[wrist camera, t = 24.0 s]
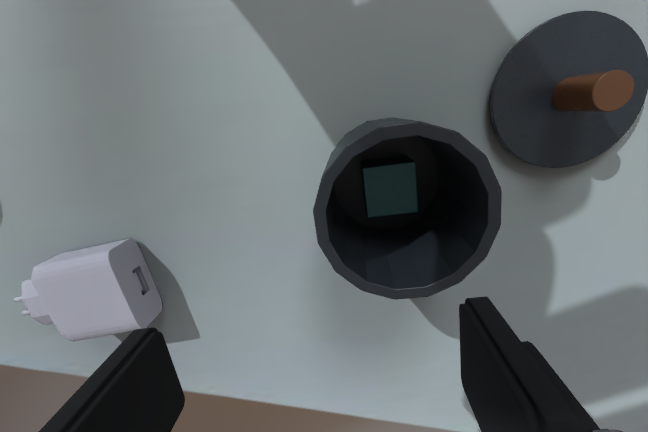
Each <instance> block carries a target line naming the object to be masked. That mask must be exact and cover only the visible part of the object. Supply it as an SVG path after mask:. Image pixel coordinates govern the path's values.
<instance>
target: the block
mask: <svg viewBox="0 0 648 432" xmlns="http://www.w3.org/2000/svg"><path fill="white" fill-rule="evenodd" d="M361 172H362V182H363V191H364V201H365V208H366V213H367V217H377V216H387V215H396V214H405V213H414V212H418V197H417V179H416V162H415V161H414V160H412V159H411V158H409V157H408V156H407V155H403V156H395V157H387V158H379V159H371V160H363V161H361Z"/></svg>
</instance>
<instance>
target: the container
mask: <svg viewBox="0 0 648 432" xmlns="http://www.w3.org/2000/svg"><path fill="white" fill-rule="evenodd" d="M403 155H407V156H408V157H409V158H411V159H412V160H414V161H415V162H416V179H417V197H418V212H414V213H405V214H396V215H387V216H377V217H367V213H366V208H365V201H364V191H363V182H362V172H361V161H363V160H371V159H379V158H387V157H395V156H403ZM313 214H314V220H315V227H316V233H317V240H318V244H319V246H320V248H321V249H322V251H323V252H324V254H325V256H326V257H327V259H328V260H329V262H330V264H331V265H332V267H333V268H334V270H335V271H336V272H337V273H338V274H340V275H341V276H342V277H344V278H345V279H346V280H348V281H349V282H351V283H352V284H353V285H355V286H356V287H358V288H359V289H360V290H363V291H365V292H369V293H373V294H376V295H380V296H384V297H387V298H391V299H405V298H417V297H428V296H431V295H433V294H435V293H438V292H440V291H442V290H444V289H447V288H449V287H451V286H453V285H455V284H458V283H460V282H461V281H462V280H463V279H464V278H465V277H466V276H467V275H468V274H469V273H470V272H472V271H473V270H474V269H475V268H476V267H477V266H478V265H479V264H480V263H481V262H482V261H483V260H484V259H485V257H487V254H488V252H489V250H490V248H491V246H492V243H493V241H494V239H495V237H496V235H497V233H498V230H499V228H500V225H501V188H500V185H499V183H498V181H497V179H496V176H495V174H494V172H493V170H492V168H491V165H490V163H489V161H488V159H487V157H486V155H484V154H483V153H482V152H481V151H480V150H479V149H477V148H476V147H475V146H474V145H473V144H471V143H470V142H469V141H468V140H467V139H465V138H464V137H463V136H462V135H461V134H460V133H458V132H456V131H453V130H449V129H446V128H442V127H438V126H435V125H431V124H428V123H424V122H420V121H413V120H406V119H399V118H386V119H378V120H372V121H367V122H365V123H364V124H362V125H360V126H358V127H356V128H355V129H353V130H352V131H350V132H348V133H347V134H346V135H345V136H344V137H343V139H342V140H341V141H340V142H339V143H338V145H337V146H336V148H335V149H334V150H333V152H332V153H331V155H330V158H329V160H328V163H327V166H326V168H325V171H324V173H323V176H322V179H321V183H320V186H319V190H318V194H317V198H316V201H315V205H314V209H313Z"/></svg>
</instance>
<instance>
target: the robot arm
mask: <svg viewBox="0 0 648 432" xmlns="http://www.w3.org/2000/svg"><path fill="white" fill-rule="evenodd" d="M459 317H460V354H461V380H462V385H463V388H464V391H465V393H466V396H467V398H468V400H469V403H470V405H471V408H472V410H473V412H474V415H475V417H476V420H477V422H478V424H479V427H480V429H481V431H482V432H622V431H619V430H611V429H600V428H599V427H598V426H597V425H596V423H595V422H594V421H593V419H592V418H591V417H590V416H589V414H588V413H587V412H586V411H585V409H584V408H583V407H582V405H581V404H580V403H579V402H578V400H577V399H576V398H575V397H574V395H573V394H572V393H571V392H570V390H569V389H568V388H567V386H566V385H565V384H564V383H563V381H562V380H561V379H560V378H559V376H558V375H557V374H556V373H555V371H554V370H553V369H552V367H551V366H550V365H549V364H548V362H547V361H546V360H545V359H544V357H543V356H542V355H541V353H540V352H539V351H538V350H537V348H536V347H535V346H534V345H533V344H532V343H530V342H528V341H525V342H521V341H520V340H519V338H518V337H517V336H516V334H515V333H514V332H513V330H512V329H511V328H510V326H509V325H508V324H507V322H506V321H505V320H504V318H503V317H502V316H501V314H500V313H499V312H498V310H497V309H496V308H495V306H494V305H493V304H492V302H491V301H490V299H489V298H488V297H477V298H467V299H466V301H465V304H460V306H459ZM184 402H185V398H184V394H183V391H182V388H181V385H180V382H179V379H178V377H177V374H176V371H175V368H174V365H173V362H172V360H171V357H170V354H169V351H168V348H167V345H166V343H165V340H164V337H163V335H162V333H161V332H158V330H157V329H156V328H143V329H136V330H134V331H133V332H132V333H131V334H130V335H129V336H128V337H127V338H126V339H125V340H124V341H123V342H122V343H121V344H120V345H119V347H118V348H117V349H116V350H115V351H114V352H113V353H112V354H111V355H110V356H109V357H108V358H107V359H106V360H105V362H104V363H103V364H102V365H101V366H100V367H99V368H98V369H97V370H96V371H95V372H94V373H93V374H92V375H91V376H90V378H89V379H88V380H87V381H86V382H85V383H84V384H83V385H82V386H81V387H80V388H79V389H78V390H77V391H76V393H75V394H74V395H73V396H72V397H71V398H70V399H69V400H68V401H67V402H66V403H65V404H64V405H63V406H62V408H61V409H60V410H59V411H58V412H57V413H56V414H55V415H54V416H53V417H52V418H51V420H49V421H48V422H47V423H46V425H45V426H44V427H43V428H42V429H41V430H40V431H39V432H171V430H172V428H173V426H174V424H175V422H176V421H177V419H178V417H179V415H180V413H181V411H182V409H183V407H184Z"/></svg>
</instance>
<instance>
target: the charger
mask: <svg viewBox="0 0 648 432" xmlns="http://www.w3.org/2000/svg"><path fill="white" fill-rule="evenodd" d="M21 291H22V297H17V298H14V301H15V302H20V301H23V303H24V304H25V306H26V308H27V310H25V311H22V312H21V314H22V315H28V314H30V315H31V317H32V318H33V319H35V320H37V321H38V322H40V323H42V324H47V325H48V324H53V323H54V325H55V327H56V328H57V330H58V332H59V333H60V334H61V335H63V336H64V337H65V338H66V339H68V340H70V341H77V340H83V339H89V338H94V337H100V336H106V335H112V334H117V333H123V332H129V331H134V330H136V329H143V328H146V327H147V326H148V325H149V324H150V323H151V322H152V321H153V320H154V319H155V318H156V317H157V316H158V314H159V313H160V312H161V311H162V301H161V297H160V295H159V292H158V290H157V288H156V285H155V283H154V281H153V278H152V276H151V274H150V271H149V269H148V267H147V264H146V262H145V260H144V257H143V255H142V252H141V250H140V248H139V246H138V245H137V243H136V242H135V241H134V240H133V239H126V240H121V241H116V242H112V243H107V244H103V245H98V246H94V247H89V248H84V249H80V250H75V251H71V252H66V253H61V254H58V255H56V256H54V257H52V258H50V259H48V260H46V261H44V262H42V263H40V264H38V265H36V266H35V267H34V268H33V272H32V276H31V279H30V280H25V281H23V283H22V285H21Z"/></svg>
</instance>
